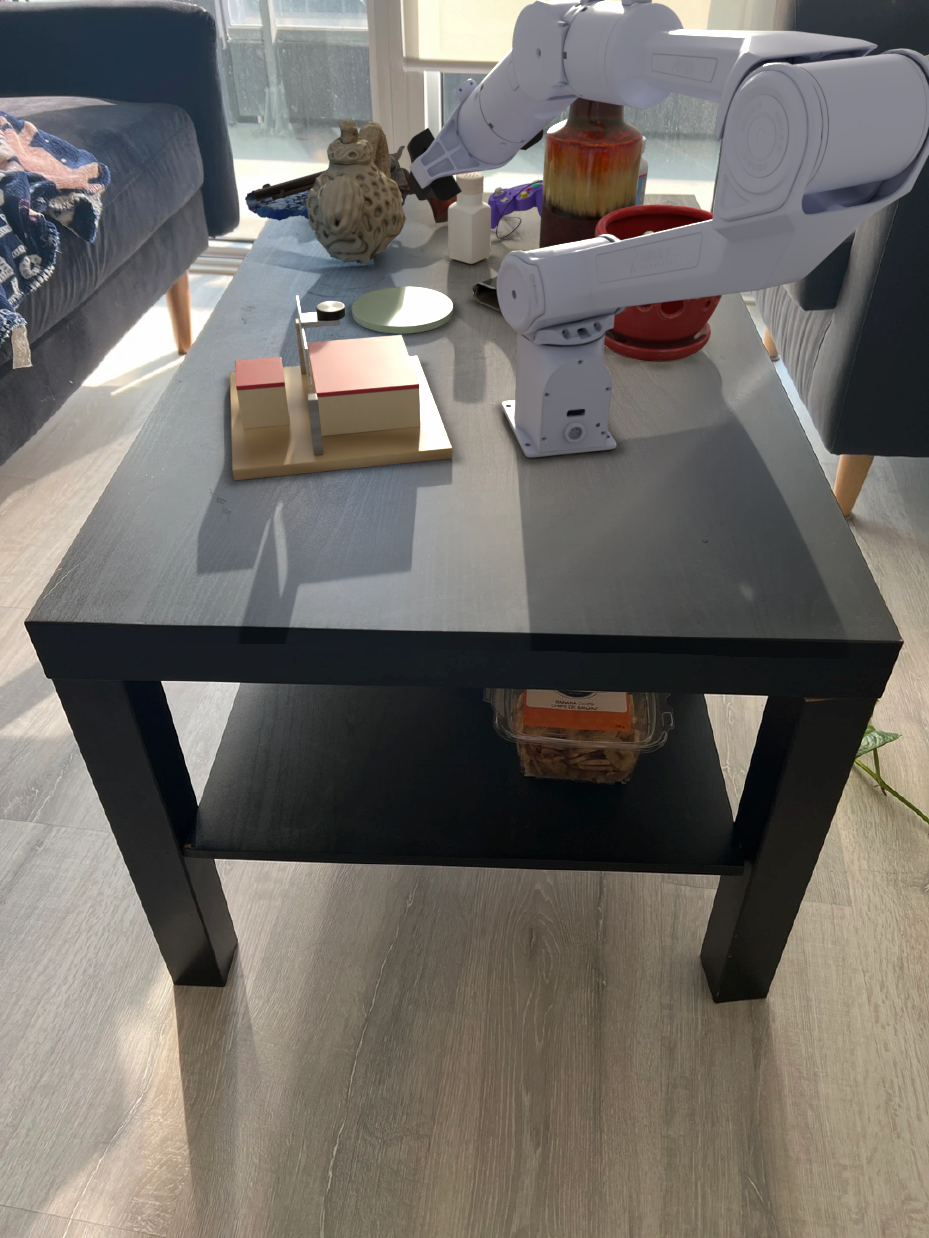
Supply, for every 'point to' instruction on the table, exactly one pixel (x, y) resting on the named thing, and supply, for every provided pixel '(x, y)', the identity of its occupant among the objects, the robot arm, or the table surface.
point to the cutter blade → (318, 323)
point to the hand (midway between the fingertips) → (447, 169)
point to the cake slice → (262, 392)
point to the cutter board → (315, 453)
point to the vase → (587, 171)
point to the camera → (487, 293)
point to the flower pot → (664, 324)
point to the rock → (279, 206)
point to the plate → (402, 310)
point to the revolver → (396, 175)
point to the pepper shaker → (469, 221)
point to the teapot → (356, 196)
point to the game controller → (514, 201)
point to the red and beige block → (364, 385)
